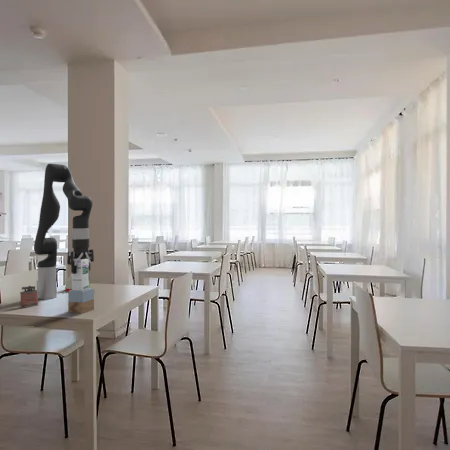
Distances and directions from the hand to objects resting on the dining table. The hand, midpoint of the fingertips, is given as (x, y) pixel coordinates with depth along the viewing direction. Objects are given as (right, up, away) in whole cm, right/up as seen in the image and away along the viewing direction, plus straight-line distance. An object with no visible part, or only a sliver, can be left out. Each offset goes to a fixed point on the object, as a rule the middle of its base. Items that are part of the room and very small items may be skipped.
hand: (81, 272), depth 172 cm
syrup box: (0, -8, 0) cm, 8 cm away
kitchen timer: (-24, -18, +55) cm, 62 cm away
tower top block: (0, -13, 0) cm, 13 cm away
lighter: (-30, -18, +11) cm, 37 cm away
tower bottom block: (0, -18, 0) cm, 18 cm away
